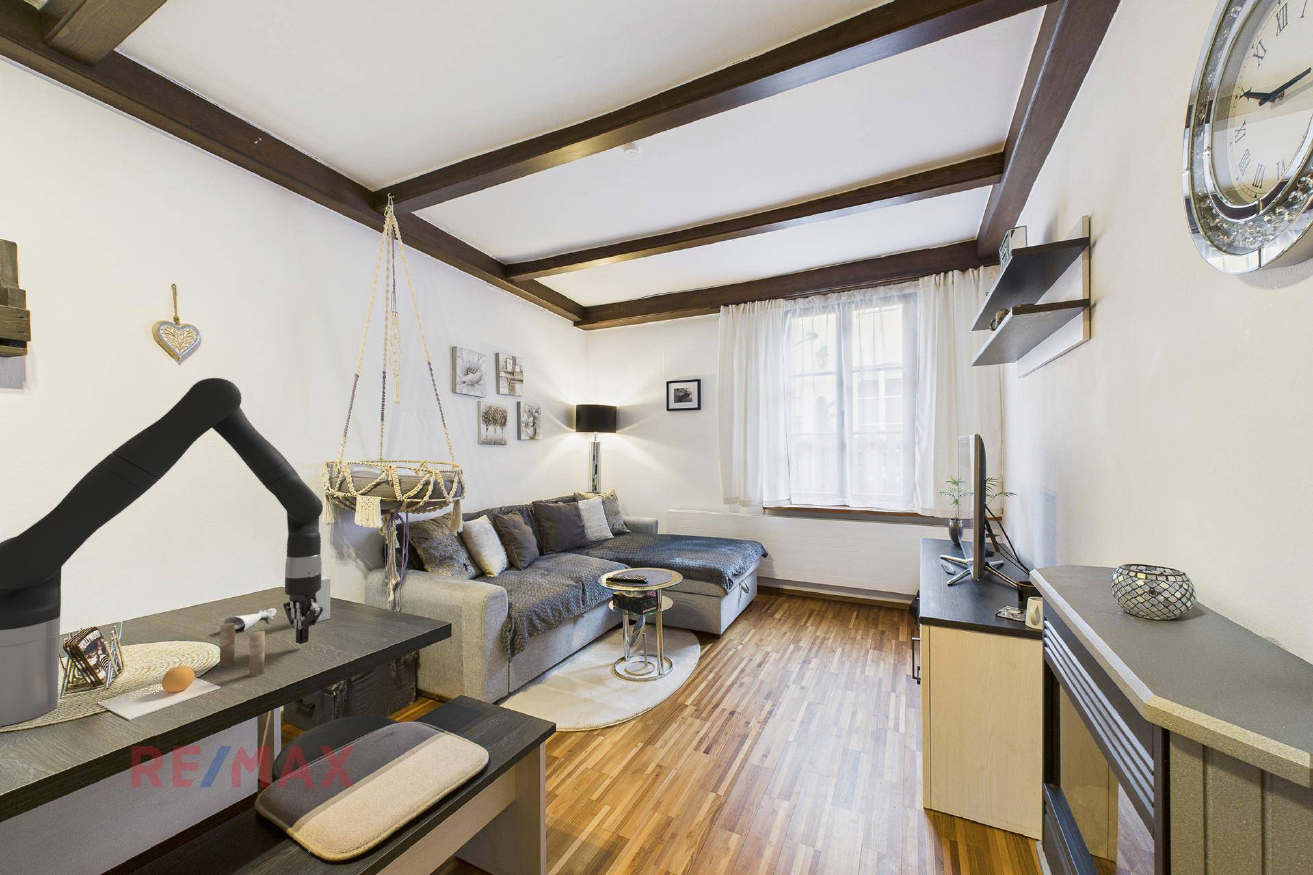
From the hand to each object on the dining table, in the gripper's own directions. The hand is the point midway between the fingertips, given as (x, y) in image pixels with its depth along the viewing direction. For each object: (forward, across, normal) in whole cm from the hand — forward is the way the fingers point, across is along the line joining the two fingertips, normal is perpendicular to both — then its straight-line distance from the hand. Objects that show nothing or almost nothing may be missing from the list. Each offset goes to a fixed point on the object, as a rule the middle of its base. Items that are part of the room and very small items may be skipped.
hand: (302, 642), depth 127 cm
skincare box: (+2, -18, +14) cm, 23 cm away
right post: (+2, +6, -13) cm, 14 cm away
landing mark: (+2, 0, -27) cm, 27 cm away
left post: (+2, -6, -13) cm, 14 cm away
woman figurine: (+2, -32, +5) cm, 32 cm away
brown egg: (-1, +1, -24) cm, 25 cm away
